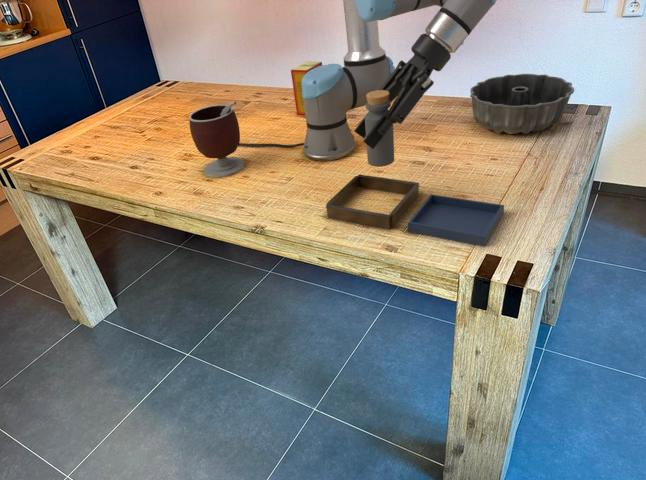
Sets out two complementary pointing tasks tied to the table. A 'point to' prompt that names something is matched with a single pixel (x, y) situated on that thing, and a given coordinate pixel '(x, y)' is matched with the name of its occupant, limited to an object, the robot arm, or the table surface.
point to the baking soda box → (297, 83)
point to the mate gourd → (217, 138)
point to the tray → (456, 219)
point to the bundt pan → (520, 102)
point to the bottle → (376, 107)
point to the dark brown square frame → (369, 217)
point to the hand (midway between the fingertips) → (363, 139)
